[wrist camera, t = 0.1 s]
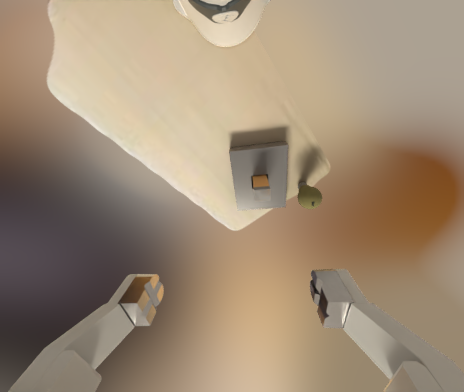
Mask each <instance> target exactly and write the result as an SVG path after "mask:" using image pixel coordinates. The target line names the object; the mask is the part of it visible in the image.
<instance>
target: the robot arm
mask: <svg viewBox="0 0 464 392" xmlns="http://www.w3.org/2000/svg"><path fill="white" fill-rule="evenodd" d="M269 1H270V0H173V4H174V6H175V8H176V10H177V11H178V12H179V13H180V14H181V15H182V16H184V17H185V18H187V19H189V20H190V21H191V22H192V23H193V24H194V26H195V27H196V29H197V30H198V31H199V33H200V34H201V35H202V36H203V37H204V38H205V39H206V40H208V41H209V42H211V43H212V44H214V45H217V46H221V47H231V46H235V45H237V44H240V43H241V42H243V41H244V40H246V39H247V38H248V37H249V36H250V35H251V34H252V32H253V31H254V30H255V28H256V27H257V25H258V23H259V21H260V19H261V17H262V14H263V11H264V9H265V7H266V5H267V4H268V2H269ZM311 276H312V280H311V281H310V290H311V295H312V298H313V301H314V303H315V304H317V305H318V310H317V312H318V315H319V318H320V320H321V323H322V326H323V327H324V328H344V331H346V333H347V334H348V335H349V336H350V337H351V338H352V339H353V340H354V341H355V342H356V344H357V345H358V346H359V347H360V348H361V349H362V350H363V351H364V352H365V353H366V354H367V355H368V356H369V357H370V358H371V360H372V361H373V362H374V363H375V364H376V365H377V366H378V367H379V368H380V369H381V370H382V371H383V372H384V374H385V375H386V376H387V377H388V378H389V379H390V382H389V383H388V384H387V386H386V387H385V389H384V391H383V392H464V373H463V372H462V371H461V370H460V369H459V367H458V366H457V365H456V364H455V363H454V362H453V361H452V360H451V359H449V358H448V357H447V356H445V355H444V354H442V353H441V352H440V351H438V350H437V349H436V348H434V347H433V346H432V345H430V344H429V343H427V342H426V341H425V340H423V339H422V338H420V337H419V336H417V335H416V334H415V333H413V332H412V331H411V330H409V329H408V328H407V327H405V326H404V325H402V324H401V323H400V322H398V321H397V320H395V319H394V318H393V317H391V316H390V315H388V314H387V313H386V312H384V311H383V310H382V309H380V308H379V307H377V306H376V305H375V304H373V303H369V302H368V301H367V299H366V298H365V296H364V295H363V293H362V292H361V290H360V289H359V287H358V286H357V284H356V283H355V281H354V280H353V278H352V277H351V275H350V273H349V272H348V271H347V270H346V269H323V270H312V272H311ZM163 292H164V289H163V285H162V284H161V283H160V282H159V277H158V275H157V274H131V275H129V276H127V277H126V279H125V280H124V281H123V283H122V284H121V286H120V287H119V288H118V290H117V291H116V292H115V294H114V295H113V297H112V298H111V299H110V301H109V302H108V304H104V305H103V306H102V307H100V308H99V309H97V310H96V311H94V312H93V313H92V314H91V315H89V316H88V317H86V318H85V319H84V320H82V321H81V322H80V323H78V324H77V325H76V326H74V327H73V328H71V329H70V330H69V331H67V332H66V333H65V334H63V335H62V336H61V337H59V338H58V339H57V340H55V341H54V342H53V343H51V344H50V345H49V346H47V347H46V348H44V350H43V351H42V352H41V353H40V354H39V356H38V357H37V358H36V359H35V360H34V361H33V363H32V364H31V365H30V366H29V367H28V368H27V370H26V371H25V372H24V373H23V374H22V375H21V377H20V378H19V379H18V380H17V381H16V383H15V384H14V385H13V386H12V387H11V388H10V390H9V391H8V392H95V391H96V389H97V387H98V385H99V383H100V381H101V375H99V374H98V373H97V372H96V371H95V369H96V368H97V367H98V366H99V365H100V363H101V362H102V361H103V360H104V359H105V358H106V357H107V356H108V355H109V354H110V353H111V352H112V351H113V350H114V348H115V347H116V346H117V345H118V344H119V343H120V342H121V341H122V340H123V339H124V337H126V336H127V334H128V333H129V332H130V331H131V330H132V329H133V328H134V326H149V325H151V322H152V320H153V317H154V316H155V314H156V306H157V305H158V304H159V303H160V302H161V300H162V297H163Z"/></svg>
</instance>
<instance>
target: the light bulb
mask: <svg viewBox="0 0 464 392" xmlns="http://www.w3.org/2000/svg"><path fill="white" fill-rule="evenodd" d="M298 188H299V193H298V202H299V204H300V205H301V206H302V207H304V208H307V209H313V208H316V207H317V206H319V205H320V203H321V201H322V195H321V193H320V191H319V190H318V189H316V188H314V187H310V186H308V185H307V184H306V183H305V182H301V183H299V184H298Z"/></svg>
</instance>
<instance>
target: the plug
mask: <svg viewBox="0 0 464 392" xmlns="http://www.w3.org/2000/svg"><path fill="white" fill-rule="evenodd" d="M252 178H253V188H254V198H255V202H263V201H271V189H270V186H269V183H268V179H267V176H266V174H265V175H255V176H252Z"/></svg>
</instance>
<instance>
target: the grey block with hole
mask: <svg viewBox="0 0 464 392" xmlns="http://www.w3.org/2000/svg"><path fill="white" fill-rule="evenodd" d="M229 154H230V161H231V168H232V175H233V182H234V189H235V196H236V203H237V210H238V211H241V210H254V209H267V208H280V207H285V206H286V185H287V160H288V144H287V143H286V142H285V141H282V142H274V143H266V144H257V145H249V146H240V147H232V148H230V150H229ZM265 174H266V176H267V179H268V183H269V186H270V189H271V201H263V202H255V198H254V188H253V178H252V176H255V175H265Z"/></svg>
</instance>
